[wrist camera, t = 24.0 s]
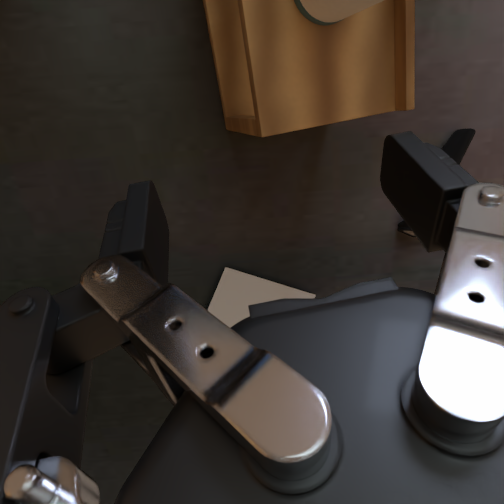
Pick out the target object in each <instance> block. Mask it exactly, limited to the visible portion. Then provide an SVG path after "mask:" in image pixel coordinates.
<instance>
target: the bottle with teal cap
mask: <svg viewBox="0 0 504 504" xmlns="http://www.w3.org/2000/svg"><path fill="white" fill-rule="evenodd" d="M382 1H384V0H294V2H295V4H296V6H297V8H298V10H299V11H300V12H301V14H302V15H303V16H304V17H305V18H306V19H308V20H309V21H311V22H313V23H315V24H318V25H332V24H335V23H337V22H339V21H342V20H343V19H345V18H347V17H349V16H351V15H353V14H355V13H358V12H360V11H362V10H364V9H367V8H369V7H371V6H373V5H375V4H378V3H380V2H382Z"/></svg>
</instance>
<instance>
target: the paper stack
mask: <svg viewBox="0 0 504 504" xmlns="http://www.w3.org/2000/svg"><path fill="white" fill-rule="evenodd" d="M315 296H316V295H314V294H311V293H308V292H304V291H301V290H298V289H295V288H291V287H288V286H285V285H282V284H279V283H275V282H272V281H269V280H266V279H262V278H259V277H256V276H253V275H250V274H246V273H243V272H240V271H237V270H233V269H230V268H227V267H225V270H224V272H223V274H222V277H221V279H220V282H219V284H218V286H217V289H216V291H215V293H214V296H213V298H212V301H211V303H210V305H209V308H208V311H209V312H210V313H211V314H213V315H214V316H215V317H217V318H218V319H219V320H221V321H222V322H223V323H224V324H226V325H227V326H228V327H230V328H231V327H232V326H233V325H235V324H236V323H238V322H239V321H241V320H243V319H245V318H247V317H249V316H250V314H249V308H248V305H253V304H258V303H263V302H268V301H273V300H278V299H283V298H315Z"/></svg>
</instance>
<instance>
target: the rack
mask: <svg viewBox="0 0 504 504" xmlns="http://www.w3.org/2000/svg"><path fill="white" fill-rule="evenodd" d="M203 4H204V9H205V15H206V21H207V26H208V32H209V37H210V43H211V48H212V54H213V59H214V65H215V70H216V76H217V81H218V87H219V92H220V98H221V104H222V109H223V115H224V120H225V126H226V130H230V131H234V132H239V133H244V134H249V135H253V136H258V137H267V136H272V135H277V134H282V133H287V132H292V131H297V130H302V129H307V128H312V127H317V126H322V125H326V124H331V123H336V122H341V121H346V120H351V119H356V118H361V117H366V116H371V115H376V114H381V113H386V112H391V111H407V110H412V109H414V44H415V0H384V1H382V2H380V3H378V4H375V5H373V6H371V7H369V8H367V9H364V10H362V11H360V12H358V13H355V14H353V15H351V16H349V17H347V18H345V19H343V20H342V21H339V22H337V23H335V24H332V25H318V24H315V23H313V22H311V21H309V20H308V19H306V18H305V17H304V16H303V15H302V14H301V12H300V11H299V10H298V8H297V6H296V4H295V2H294V0H203Z"/></svg>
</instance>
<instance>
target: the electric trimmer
mask: <svg viewBox="0 0 504 504" xmlns="http://www.w3.org/2000/svg"><path fill="white" fill-rule="evenodd" d="M474 134H475V130H474V129H460V130H456V131H455V132H454V133H453V134H452V135H451V137H450V138H449V140H448V141H447V143H446V144H445V146H444V147H443V149H442V150H443V151H444V152H445V153H446V154H447V155H449V156H450V158H452V159H453V160H454V161H455V162H456V163H457V165H459V164H460V162H461V160H462V158H463V156H464V154H465V152H466V150H467V148H468V146H469V144H470V142H471V140H472V138H473V137H474ZM398 226H399V227H400V228H399V229H398V231H400V232H402V233H405V234H407V235H409V236H412V237H416V235H415V234H414V233H413V231H412V230H411V229H410V227H409V226H408V225H407V223H406V222H405V221H403V222H400V223H399V225H398Z"/></svg>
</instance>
